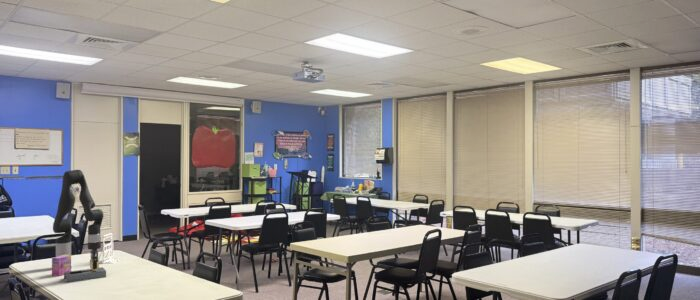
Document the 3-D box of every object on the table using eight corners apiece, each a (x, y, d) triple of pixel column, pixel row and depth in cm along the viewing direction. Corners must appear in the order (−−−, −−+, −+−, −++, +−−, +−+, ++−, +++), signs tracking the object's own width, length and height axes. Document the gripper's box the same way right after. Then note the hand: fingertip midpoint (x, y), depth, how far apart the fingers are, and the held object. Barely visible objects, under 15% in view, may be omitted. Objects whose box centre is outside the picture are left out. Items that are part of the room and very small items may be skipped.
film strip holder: (113, 263, 348) (113, 235, 348) (94, 263, 348) (94, 235, 348) (123, 259, 362) (123, 232, 362) (104, 259, 362) (104, 232, 363)
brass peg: (89, 276, 311) (89, 259, 311) (98, 274, 314) (98, 258, 314) (90, 277, 307) (90, 260, 307) (99, 276, 310) (99, 259, 310)
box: (59, 276, 311) (59, 257, 311) (51, 276, 312) (51, 257, 313) (71, 272, 321) (71, 254, 322) (64, 272, 323) (64, 254, 323)
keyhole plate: (66, 282, 296) (66, 275, 296) (64, 278, 306) (64, 272, 306) (106, 276, 309) (106, 270, 309) (102, 273, 318) (102, 267, 318)
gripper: (86, 240, 314) (86, 266, 314) (89, 243, 302) (89, 270, 302) (98, 238, 318) (99, 265, 318) (102, 241, 307) (102, 269, 307)
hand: (94, 267), depth 310 cm, fingers closed on brass peg, 4 cm apart
